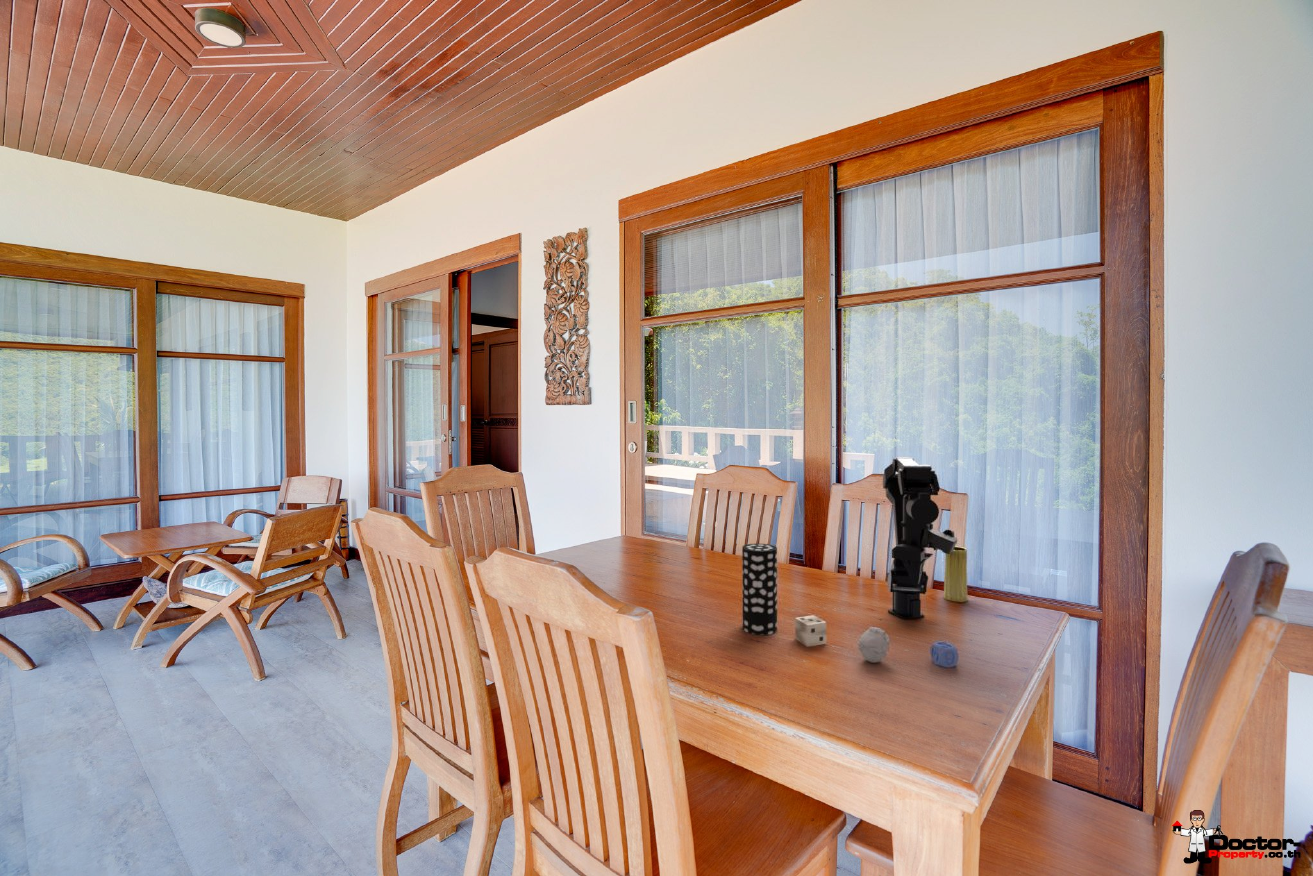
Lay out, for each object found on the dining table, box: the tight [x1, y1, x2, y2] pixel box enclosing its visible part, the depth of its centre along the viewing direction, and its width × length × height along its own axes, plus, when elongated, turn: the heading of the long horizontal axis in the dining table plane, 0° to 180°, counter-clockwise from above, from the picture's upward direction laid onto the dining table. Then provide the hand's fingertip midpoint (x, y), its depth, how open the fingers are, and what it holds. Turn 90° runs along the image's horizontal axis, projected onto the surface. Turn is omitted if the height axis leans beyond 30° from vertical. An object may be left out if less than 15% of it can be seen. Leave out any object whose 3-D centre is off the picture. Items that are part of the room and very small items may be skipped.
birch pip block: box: [794, 614, 827, 648], centre depth 134 cm, size 5×5×5 cm
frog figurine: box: [857, 626, 891, 664], centre depth 123 cm, size 6×7×7 cm
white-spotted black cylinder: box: [741, 543, 778, 636], centre depth 142 cm, size 8×8×20 cm
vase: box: [942, 545, 969, 603], centre depth 163 cm, size 6×6×14 cm
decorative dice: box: [929, 640, 960, 668], centre depth 122 cm, size 4×4×4 cm
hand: (916, 584), depth 137 cm, fingers closed
